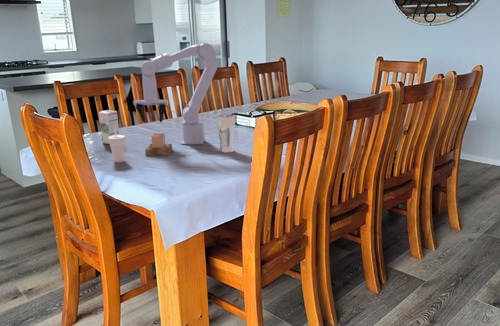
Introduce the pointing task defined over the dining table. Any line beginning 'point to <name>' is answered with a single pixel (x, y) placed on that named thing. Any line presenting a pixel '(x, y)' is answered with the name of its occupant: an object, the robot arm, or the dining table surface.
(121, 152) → the smoothie
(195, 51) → the robot arm
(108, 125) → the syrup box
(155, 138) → the terracotta block
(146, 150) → the walnut base
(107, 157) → the dining table surface
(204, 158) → the dining table surface
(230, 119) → the beer glass
